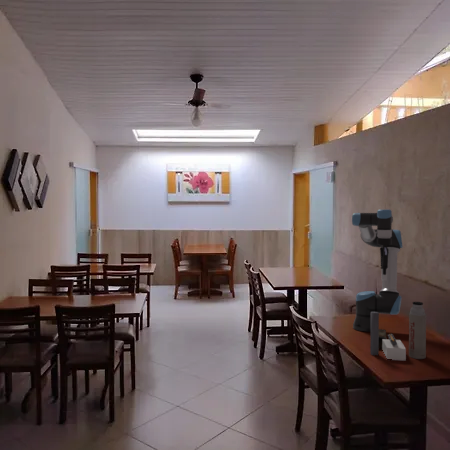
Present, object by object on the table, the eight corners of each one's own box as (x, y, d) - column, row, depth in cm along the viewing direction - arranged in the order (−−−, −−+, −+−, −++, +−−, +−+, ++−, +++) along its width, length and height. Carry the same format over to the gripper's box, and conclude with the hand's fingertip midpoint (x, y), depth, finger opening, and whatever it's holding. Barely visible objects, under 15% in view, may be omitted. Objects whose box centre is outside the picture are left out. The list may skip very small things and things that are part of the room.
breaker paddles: (389, 340, 238) (387, 334, 238) (393, 338, 237) (391, 333, 237) (392, 345, 228) (390, 340, 228) (397, 344, 228) (395, 338, 228)
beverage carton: (386, 339, 261) (386, 328, 261) (386, 349, 243) (386, 337, 242) (371, 338, 264) (371, 327, 263) (370, 348, 245) (370, 336, 245)
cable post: (369, 352, 237) (370, 311, 236) (377, 353, 236) (378, 311, 235) (371, 355, 233) (371, 313, 232) (379, 355, 232) (379, 313, 231)
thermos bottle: (413, 359, 226) (414, 304, 225) (406, 354, 234) (406, 300, 233) (428, 358, 227) (429, 303, 226) (420, 353, 235) (421, 300, 234)
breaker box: (382, 350, 241) (382, 339, 241) (400, 351, 239) (400, 339, 239) (386, 359, 226) (386, 347, 226) (405, 360, 225) (405, 348, 224)
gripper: (375, 236, 254) (375, 278, 255) (378, 238, 241) (378, 282, 242) (389, 236, 252) (389, 278, 253) (393, 238, 240) (393, 282, 240)
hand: (384, 280), depth 248 cm, fingers closed
